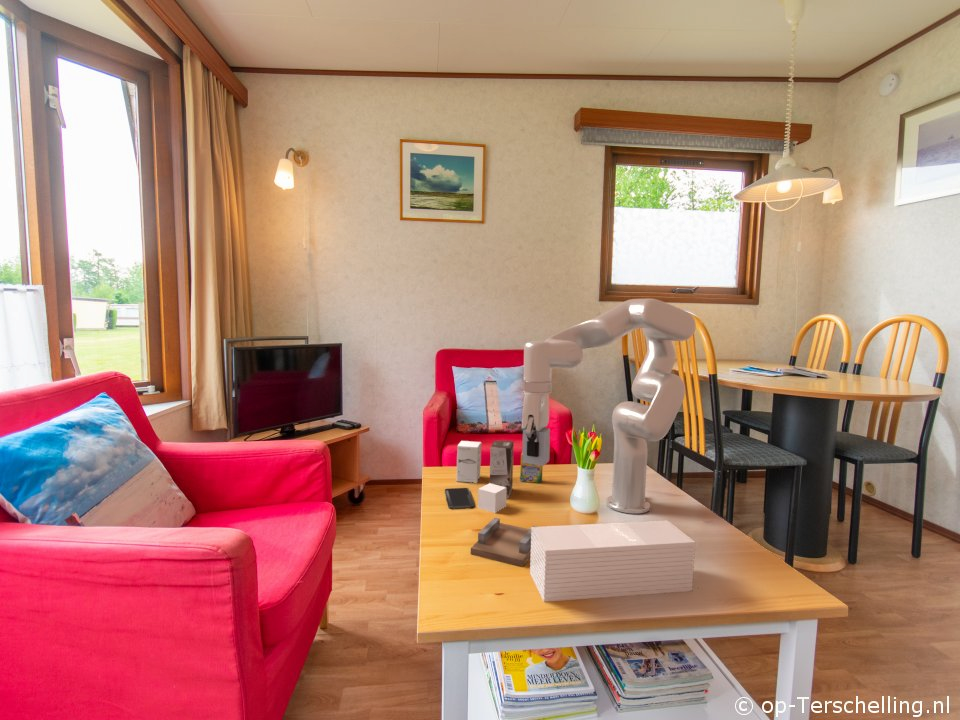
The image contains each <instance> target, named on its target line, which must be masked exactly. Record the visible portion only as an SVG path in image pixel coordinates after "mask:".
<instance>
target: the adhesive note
mask: <svg viewBox="0 0 960 720" xmlns="http://www.w3.org/2000/svg"><path fill="white" fill-rule="evenodd" d="M506 488H507V487H503V486H499V485H495V484H491V483H490V482H489V483H488V484H485V485H482V486H481V487H479V488H478V489H477V491H478V494H477V498H478V499H477V508H478V509H479V508H480V509H479V510H482V509H484V510H483V511H485V510H487V511H486V512H489V511H490V512H489V513H492V512H494V513H493V514H496V513H498V512H500V511H501V509H502V508H503V509H505V508H506V507H507V499H506ZM504 507H505V508H504ZM503 509H502V510H503ZM499 510H500V511H499ZM497 511H498V512H497Z"/></svg>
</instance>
